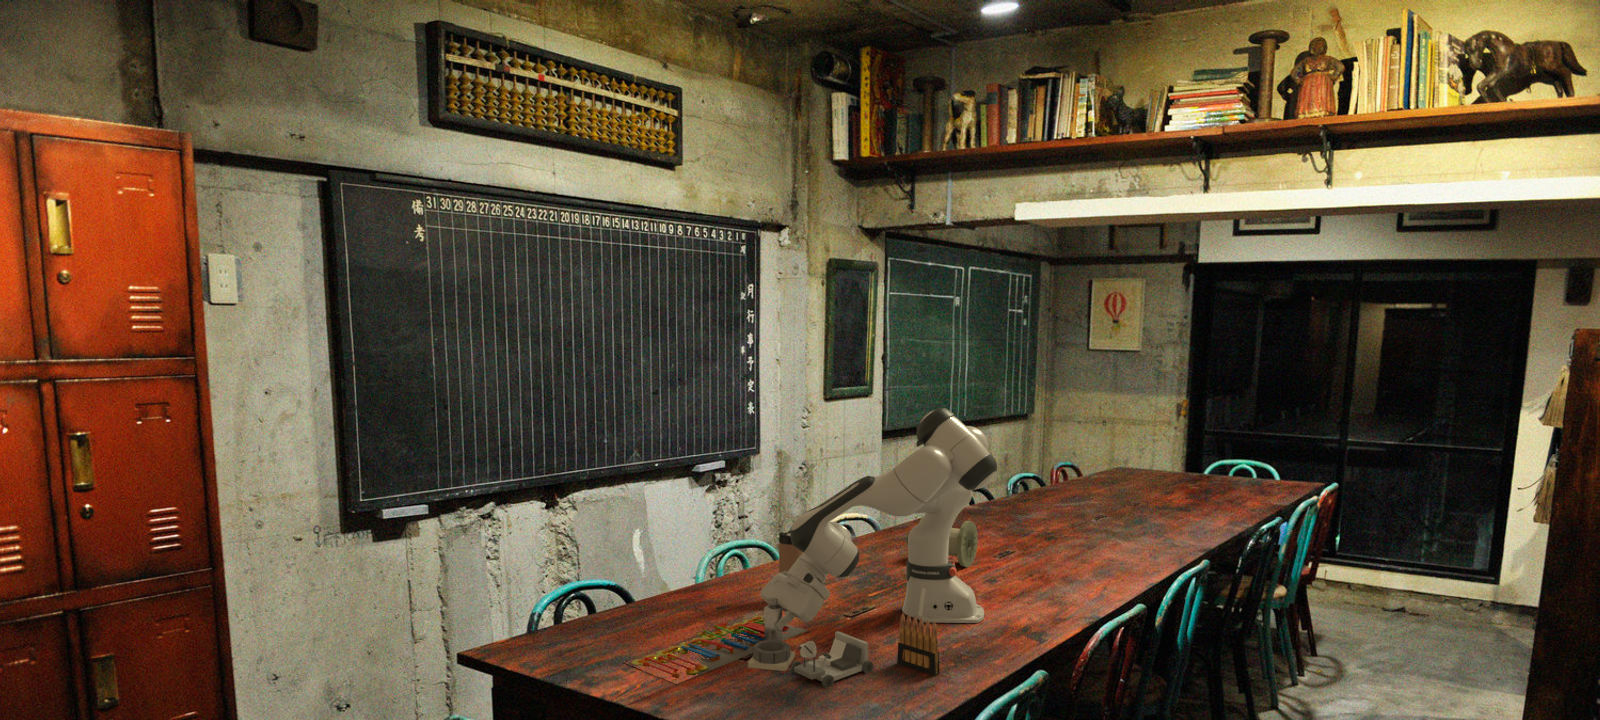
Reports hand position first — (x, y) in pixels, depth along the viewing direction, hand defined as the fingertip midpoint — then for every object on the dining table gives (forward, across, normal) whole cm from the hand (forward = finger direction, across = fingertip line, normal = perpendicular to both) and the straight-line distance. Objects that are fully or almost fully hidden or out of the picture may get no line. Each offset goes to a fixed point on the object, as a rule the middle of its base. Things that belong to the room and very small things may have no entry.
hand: (771, 624), depth 208 cm
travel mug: (-12, -28, +21) cm, 37 cm away
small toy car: (+3, +20, +7) cm, 22 cm away
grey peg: (+4, 0, +5) cm, 6 cm away
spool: (-59, -35, +68) cm, 97 cm away
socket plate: (+7, +8, +1) cm, 11 cm away
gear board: (+12, -8, -2) cm, 14 cm away
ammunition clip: (-11, +29, +20) cm, 37 cm away
